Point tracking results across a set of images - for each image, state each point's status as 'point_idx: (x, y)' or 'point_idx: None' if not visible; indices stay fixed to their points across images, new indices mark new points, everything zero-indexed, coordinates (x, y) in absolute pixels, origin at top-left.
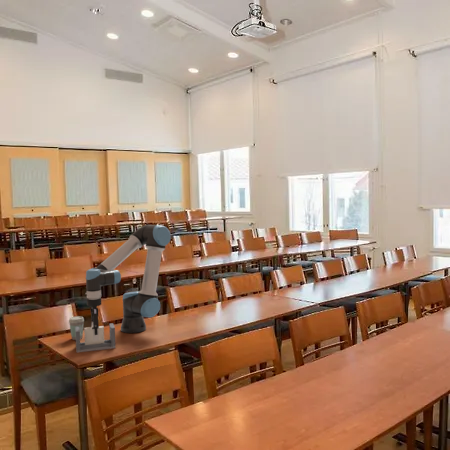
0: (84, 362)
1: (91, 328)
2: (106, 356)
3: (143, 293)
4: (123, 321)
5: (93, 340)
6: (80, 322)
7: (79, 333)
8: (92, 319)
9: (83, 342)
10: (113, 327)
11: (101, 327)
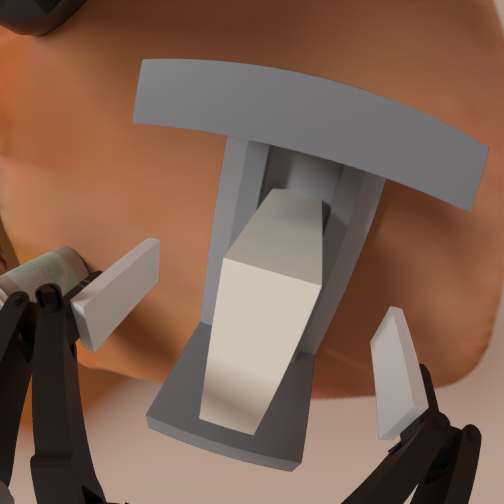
0: (468, 366)
1: (269, 403)
2: (495, 261)
3: None
4: (12, 12)
5: (373, 344)
6: None
7: (302, 450)
8: (76, 373)
9: None
10: (456, 152)
11: (308, 317)
